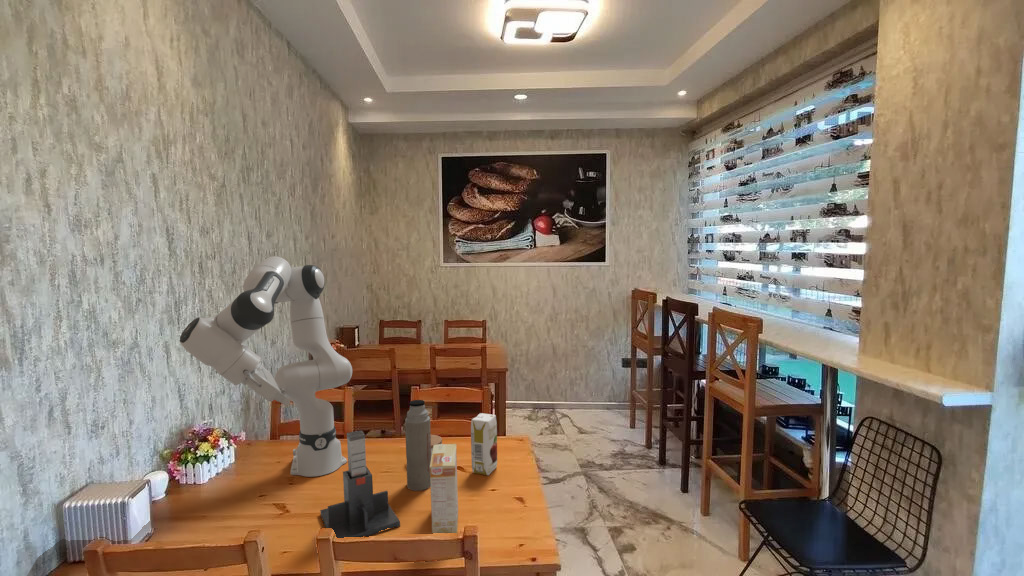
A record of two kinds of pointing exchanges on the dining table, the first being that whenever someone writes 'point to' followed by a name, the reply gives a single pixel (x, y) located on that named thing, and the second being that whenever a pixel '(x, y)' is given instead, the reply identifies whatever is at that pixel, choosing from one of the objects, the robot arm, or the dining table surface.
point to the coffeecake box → (444, 488)
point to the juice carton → (484, 443)
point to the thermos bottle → (418, 446)
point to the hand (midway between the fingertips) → (286, 398)
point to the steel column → (356, 454)
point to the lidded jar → (435, 441)
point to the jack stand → (360, 509)
